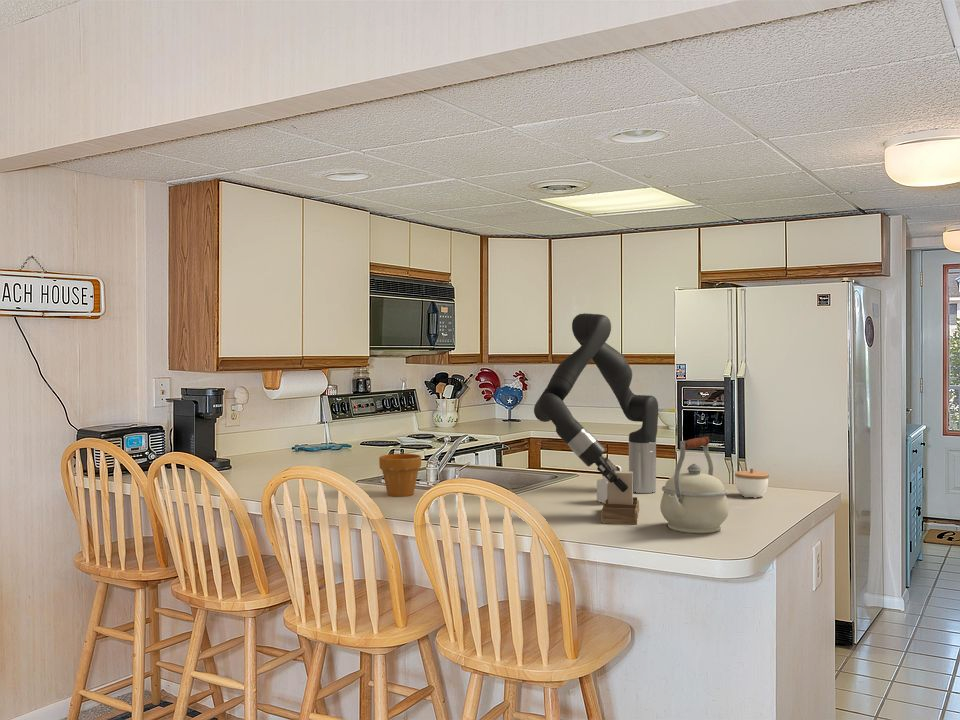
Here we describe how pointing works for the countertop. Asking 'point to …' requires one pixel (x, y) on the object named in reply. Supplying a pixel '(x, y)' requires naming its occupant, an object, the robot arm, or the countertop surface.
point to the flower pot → (400, 473)
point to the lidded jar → (751, 483)
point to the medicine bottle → (603, 487)
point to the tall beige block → (616, 494)
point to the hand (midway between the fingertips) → (626, 487)
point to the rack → (620, 512)
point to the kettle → (694, 495)
